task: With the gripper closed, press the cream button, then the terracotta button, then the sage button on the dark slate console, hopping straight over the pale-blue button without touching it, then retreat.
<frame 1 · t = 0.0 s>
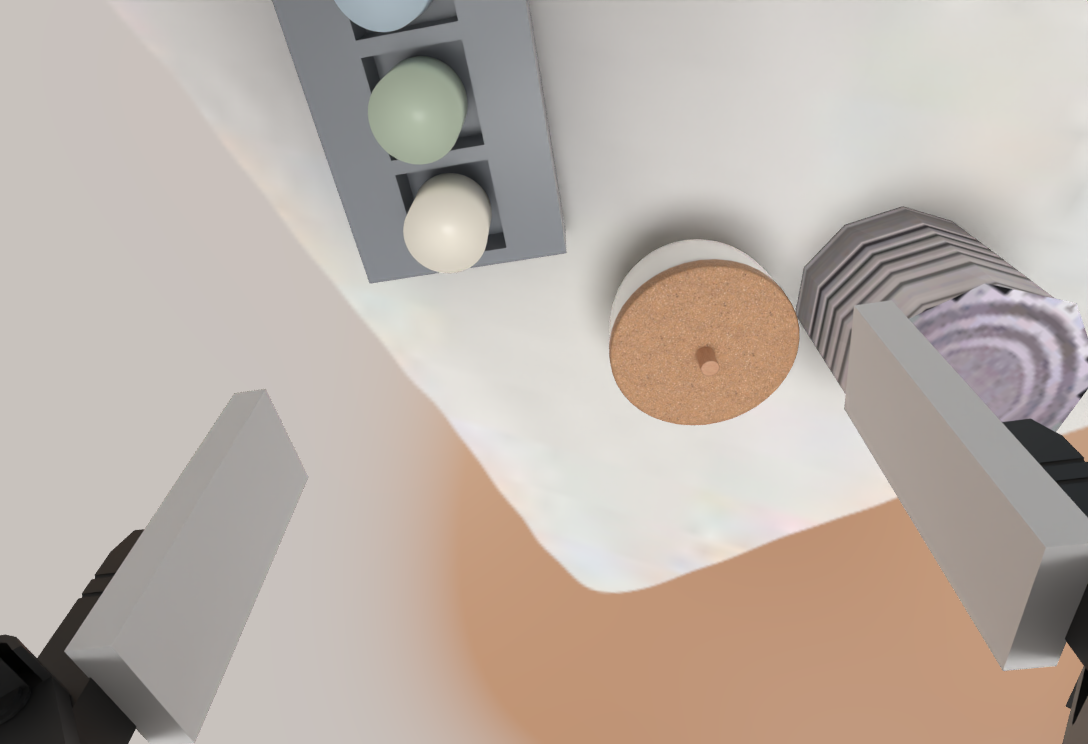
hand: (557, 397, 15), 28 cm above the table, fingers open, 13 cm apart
lidded jar: (681, 289, 45), on the table
cream button: (449, 222, 37), point 5 cm above the table, slide at 0.0 cm
can: (879, 287, 45), on the table
sage button: (420, 109, 34), point 5 cm above the table, slide at 0.0 cm
console: (419, 30, 36), on the table
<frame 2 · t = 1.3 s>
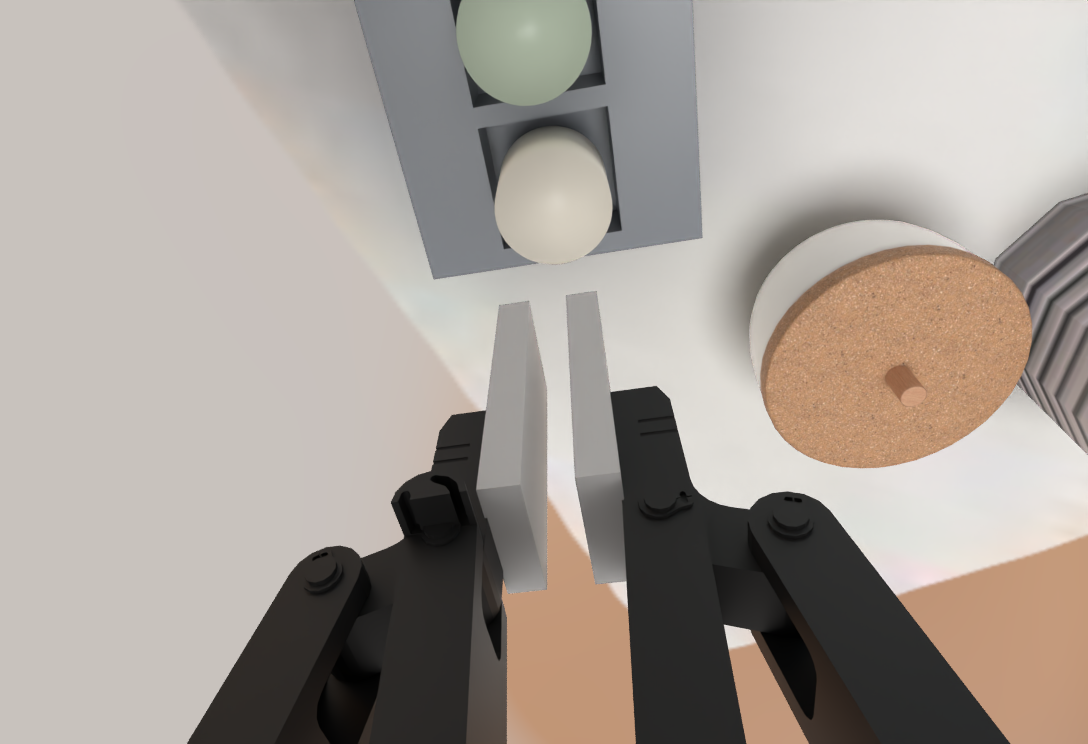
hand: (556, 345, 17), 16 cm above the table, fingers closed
lidded jar: (830, 287, 35), on the table
cream button: (553, 194, 27), point 5 cm above the table, slide at 0.0 cm
sage button: (525, 27, 24), point 5 cm above the table, slide at 0.0 cm
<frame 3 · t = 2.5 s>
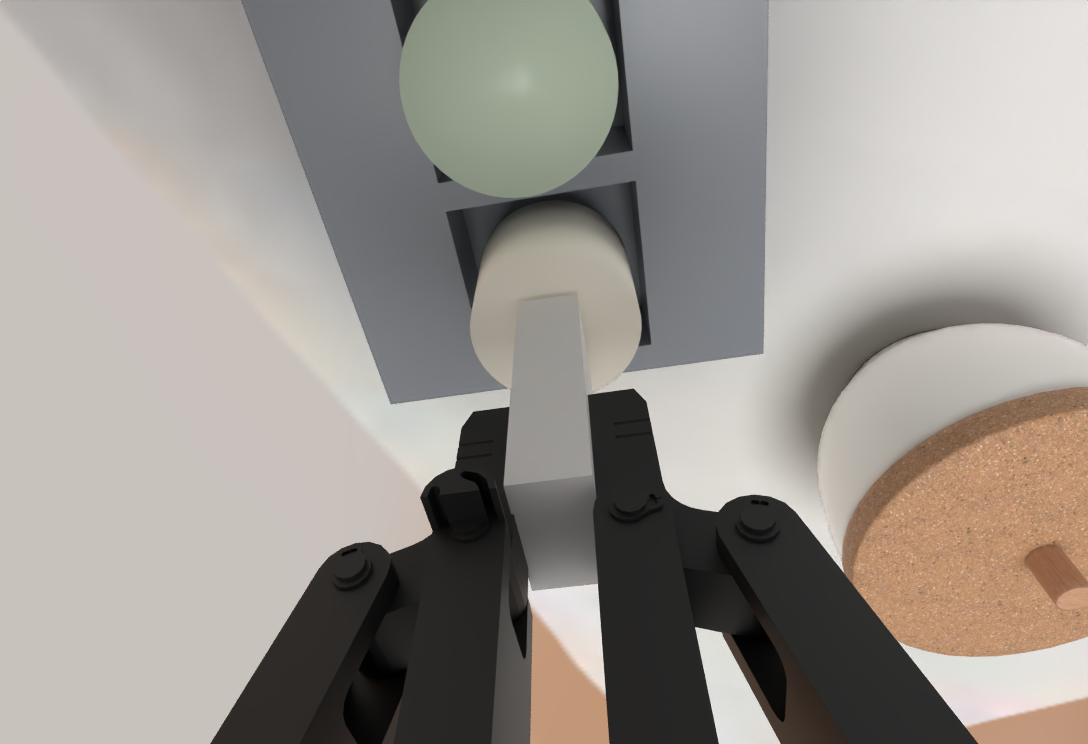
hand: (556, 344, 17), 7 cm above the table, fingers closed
lidded jar: (918, 393, 27), on the table
cream button: (555, 299, 19), point 5 cm above the table, slide at 0.5 cm, touching gripper
sage button: (512, 74, 15), point 5 cm above the table, slide at 0.0 cm
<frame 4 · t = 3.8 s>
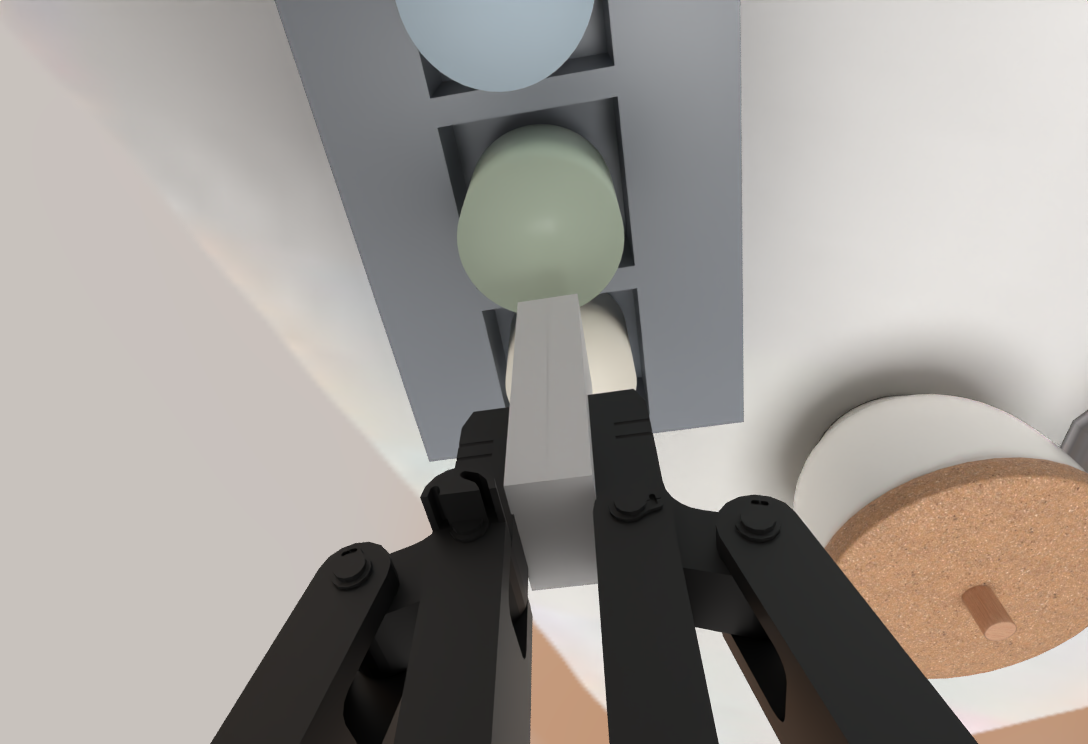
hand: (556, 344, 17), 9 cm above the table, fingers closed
lidded jar: (881, 447, 31), on the table
cream button: (569, 358, 24), point 3 cm above the table, slide at 2.0 cm
sage button: (541, 218, 19), point 5 cm above the table, slide at 0.0 cm
console: (527, 75, 22), on the table
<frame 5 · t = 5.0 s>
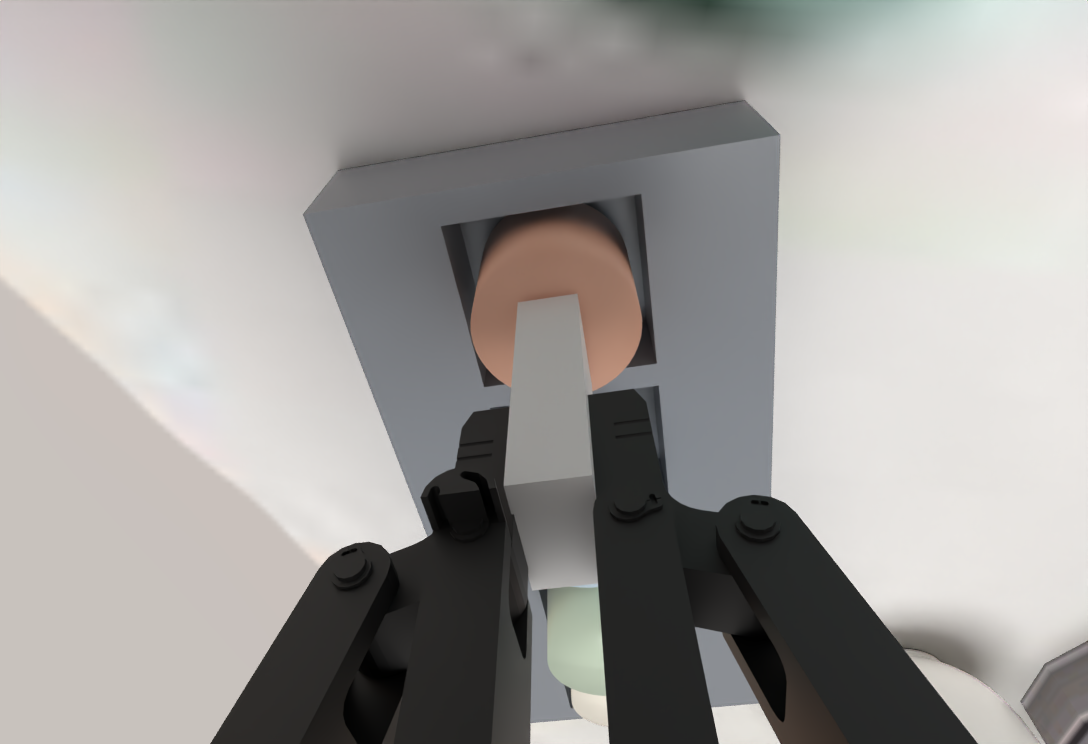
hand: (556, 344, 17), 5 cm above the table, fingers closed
pale blue button: (586, 494, 21), point 5 cm above the table, slide at 0.0 cm
lidded jar: (880, 678, 36), on the table
cream button: (621, 660, 29), point 3 cm above the table, slide at 2.0 cm
terracotta button: (555, 297, 19), point 3 cm above the table, slide at 1.7 cm
sage button: (609, 614, 24), point 5 cm above the table, slide at 0.0 cm
console: (590, 457, 27), on the table
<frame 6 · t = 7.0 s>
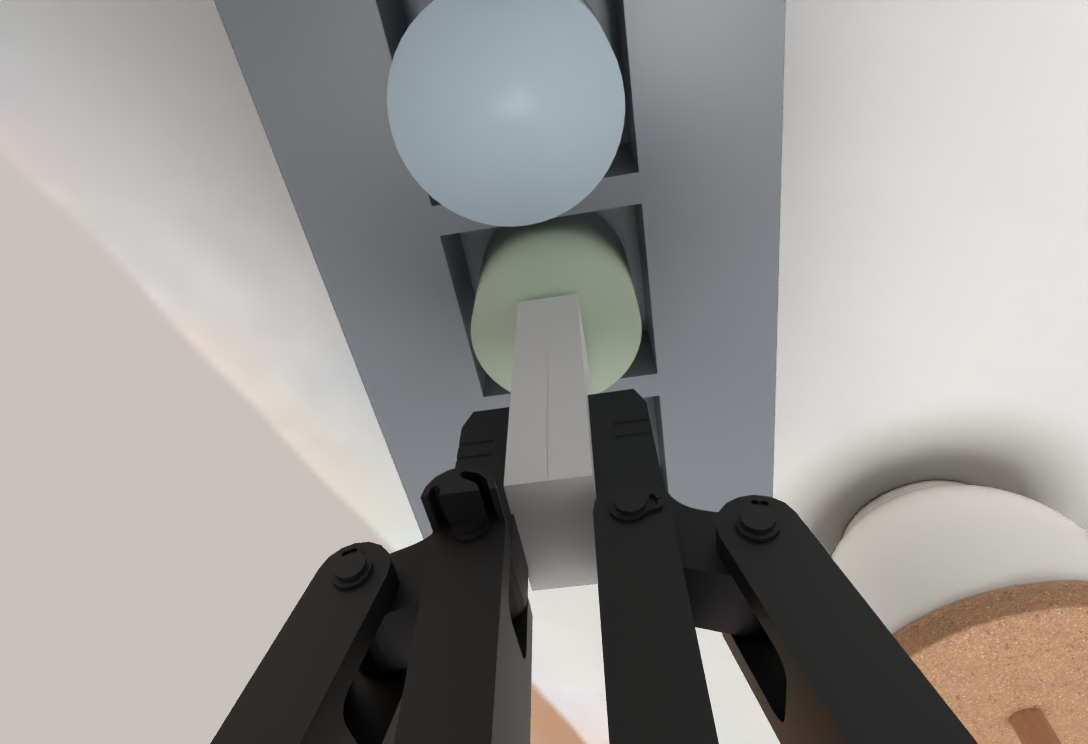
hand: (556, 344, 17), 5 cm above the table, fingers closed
pale blue button: (510, 93, 14), point 5 cm above the table, slide at 0.0 cm
lidded jar: (913, 529, 29), on the table
sage button: (555, 302, 19), point 3 cm above the table, slide at 1.9 cm, touching gripper
console: (538, 162, 20), on the table
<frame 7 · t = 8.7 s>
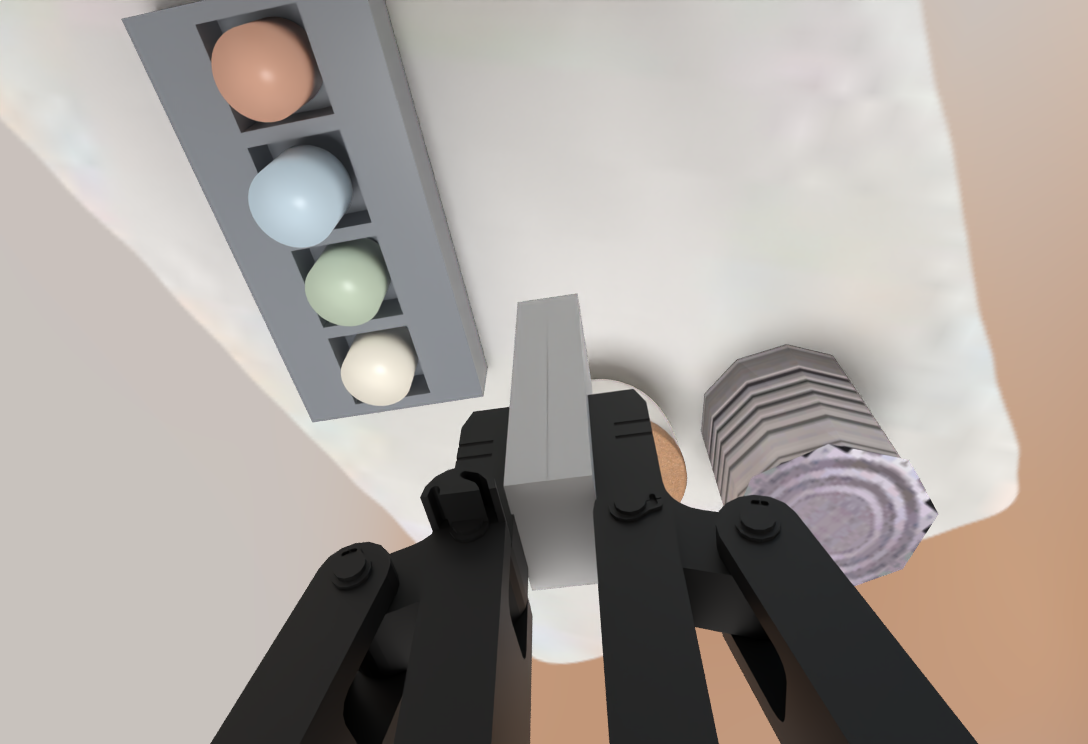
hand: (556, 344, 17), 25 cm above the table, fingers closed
pale blue button: (302, 195, 36), point 5 cm above the table, slide at 0.0 cm
lidded jar: (596, 412, 50), on the table
cream button: (381, 362, 44), point 3 cm above the table, slide at 2.0 cm
can: (775, 408, 50), on the table
terracotta button: (270, 69, 35), point 3 cm above the table, slide at 2.0 cm
sage button: (350, 280, 41), point 3 cm above the table, slide at 2.0 cm
console: (346, 215, 42), on the table
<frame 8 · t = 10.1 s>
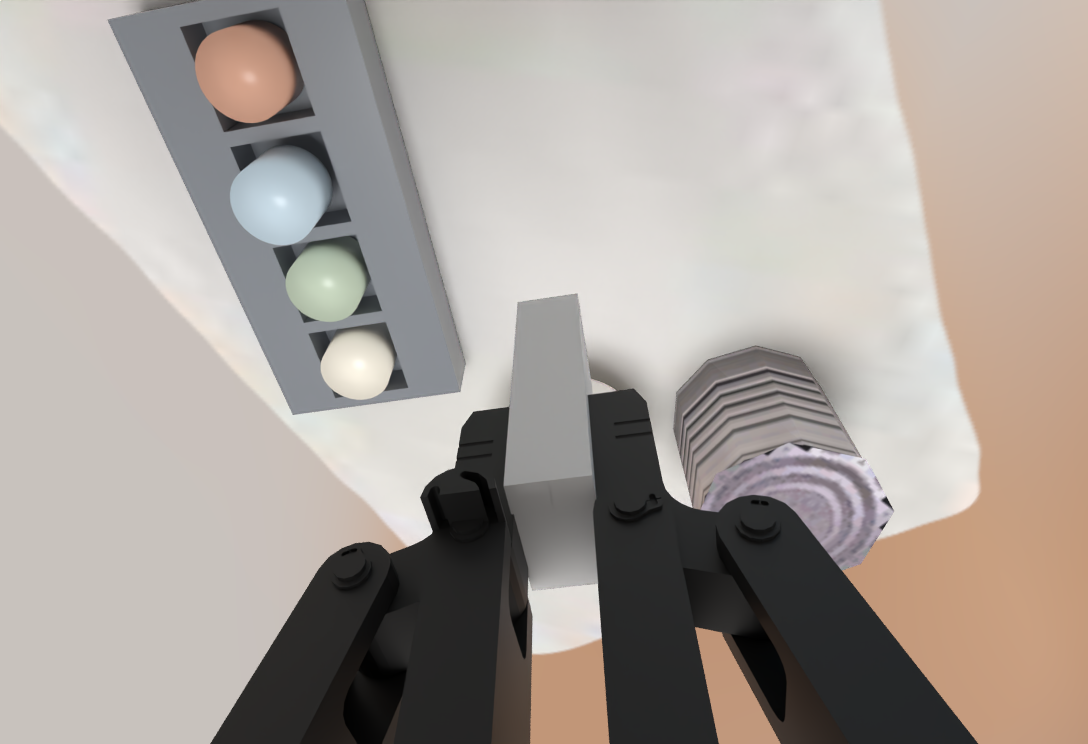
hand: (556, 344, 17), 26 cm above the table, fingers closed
pale blue button: (283, 194, 37), point 5 cm above the table, slide at 0.0 cm
cream button: (361, 357, 45), point 3 cm above the table, slide at 2.0 cm
can: (745, 407, 52), on the table
terracotta button: (253, 71, 36), point 3 cm above the table, slide at 2.0 cm
sage button: (330, 277, 42), point 3 cm above the table, slide at 2.0 cm
console: (327, 213, 43), on the table
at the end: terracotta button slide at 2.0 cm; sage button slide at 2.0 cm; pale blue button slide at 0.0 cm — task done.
